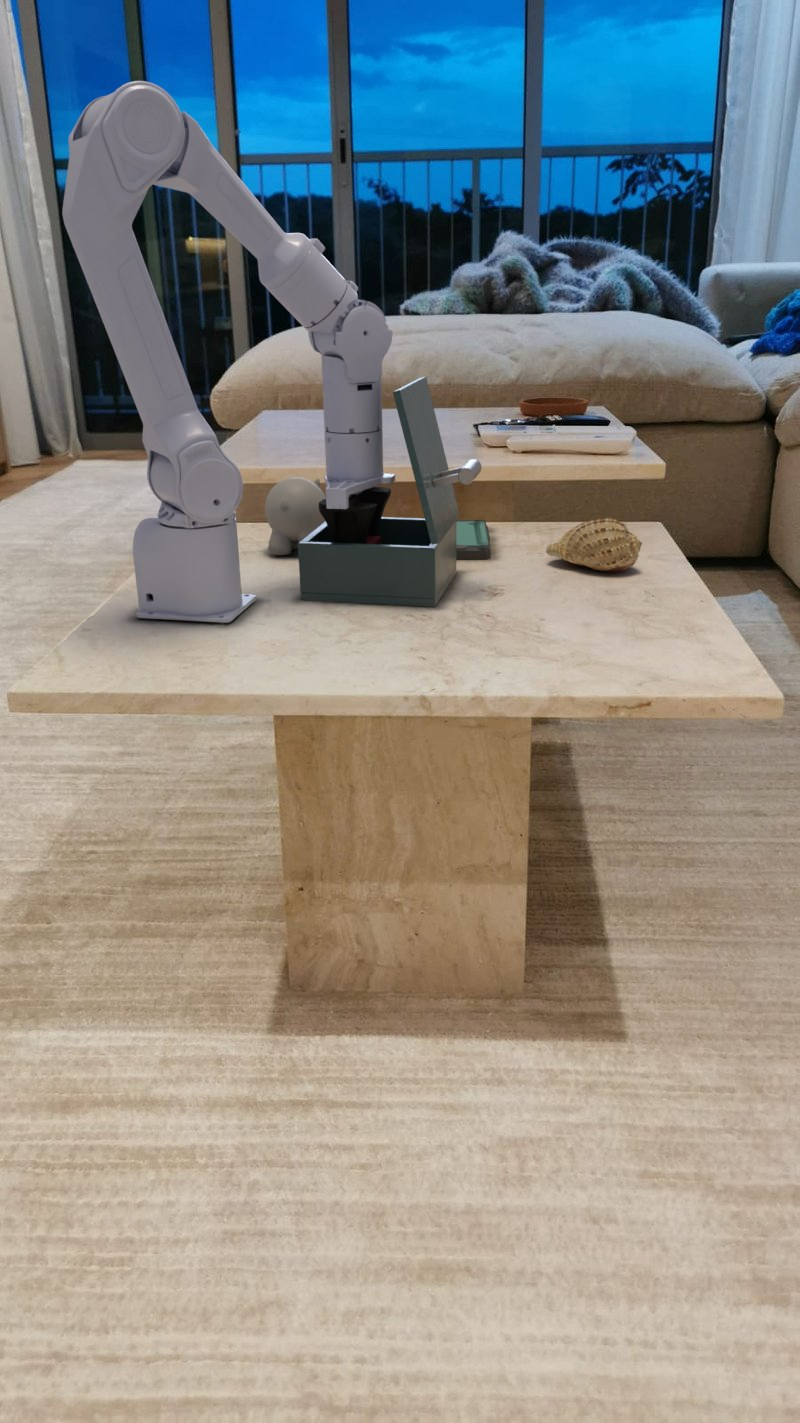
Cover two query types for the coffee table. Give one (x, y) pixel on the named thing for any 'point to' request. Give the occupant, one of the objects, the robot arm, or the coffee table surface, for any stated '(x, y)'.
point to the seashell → (598, 545)
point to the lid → (430, 458)
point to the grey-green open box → (379, 565)
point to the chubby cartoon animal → (292, 513)
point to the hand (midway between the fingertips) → (357, 564)
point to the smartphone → (472, 540)
